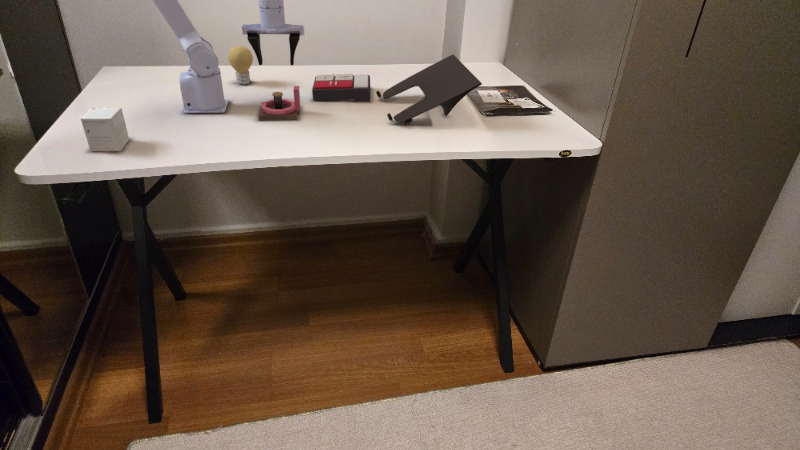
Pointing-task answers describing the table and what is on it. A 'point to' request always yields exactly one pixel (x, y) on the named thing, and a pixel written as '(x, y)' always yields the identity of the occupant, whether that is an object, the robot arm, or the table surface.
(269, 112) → the pink octagonal frame
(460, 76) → the laptop tray
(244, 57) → the light bulb
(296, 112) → the stand
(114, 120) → the product box
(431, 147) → the table surface
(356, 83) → the button keypad
